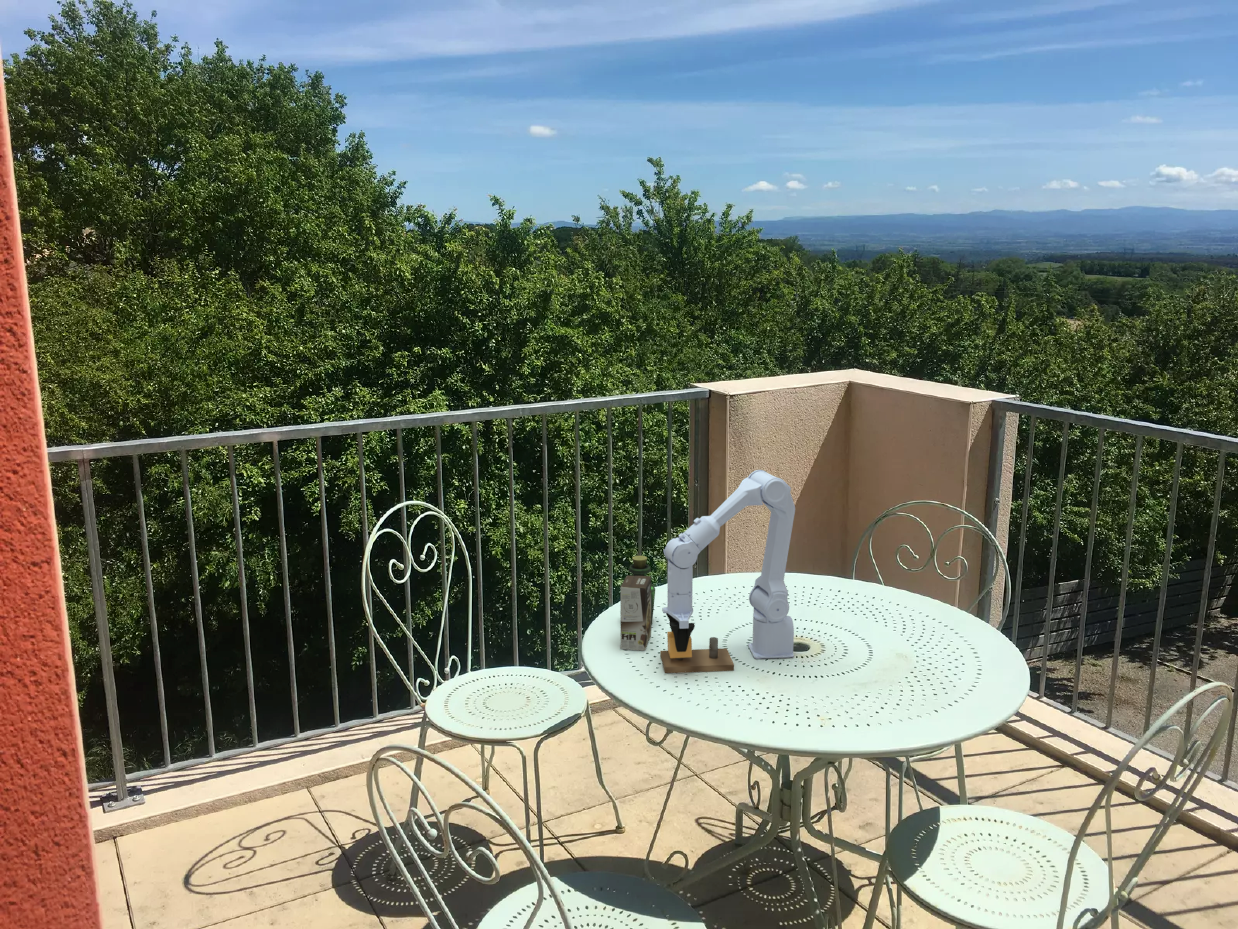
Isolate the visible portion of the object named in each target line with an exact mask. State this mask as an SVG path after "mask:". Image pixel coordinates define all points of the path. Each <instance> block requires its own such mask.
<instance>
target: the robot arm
mask: <svg viewBox="0 0 1238 929" xmlns="http://www.w3.org/2000/svg"><path fill="white" fill-rule="evenodd" d="M791 490H792V487H791V486H790V485H789V484H788V483H787V482H786V481H785V480H784V479H783V478H780V477H777V476H774V475H772V474H770V473H768V472H767V471H766V470H763V469H756V470H753V471H752V472H750V473H749V475H748V477H745V478H744V479H742V481H741V482H740V484H739V485H738V488H736V489H735V491H733V492H732V493H731V494H730V495H729V497H727V499H725V500H724V501H723V502H722V503H721V505H719V506H718V507H717V509H715V511H713V512H712V513H711V514H710V515H702V516H701V517H700V518H699V517H696V518H695V519H694V520H693V523H692V525H690V526H689V527H688V528H687V529H686V530H685V531H684V532H680V534H678V537H673V538H671V539H670V540H669V541H668V542H667V544H666V546H665V547H664V549H663V554H664V556H665V558H666V559H667V606H666V607H665V606H664V607H662V610H661V611H662V613H663V614H665V615H666V616H667V619H668V622H669V626H670V630H671V631H670V632H672V631H673V634H674V639H675V645H676V650H677V652H686V650H687V646H688V642H689V638H690V636H691V635H692V633H693V631H694V629H695V626H696V624H695V622H690V621H689V620H690V619H691V617H692V615H693V613H694V608H693V578H694V577H693V574H694V573H693V568H694V567H693V565H695V563H696V562H697V560H698V556H699V554H700V553H701V552H702V551H703V550H704V549H705V548H706V547H707V546H708V545H710V544H711V543H712V542H713V541H714V540H715V539H716V538H718V536H719V535H720V530H721V527H722V526H724V525H725V524H726V523H727V522H729V520H731V519H732V518H733V517H735V516H736V515H737V514H738V513H740V512H742V510H743V509H745V508H746V507H748V506H751V507H752V506H763V505H765V506H766V508H767V509H768V510H769V512H770V517H769V522H768V529H767V535H766V543H765V548H764V554H763V560H762V568H761V573H760V576H758V577H757V578H756V579H755V580H754V585H753V588H752V589H751V590H750V592H749V596H748V602H749V604H750V606H751V607H753V613H752V617H753V618H752V642H751V643H750V642H749V643H747V647H748V648H749V650H750V652H751V654H752V656H753V658H754V659H757V660H758V659H780V658H781V659H783V658H794V657H795V655H794V638H795V633H794V632H795V630H794V629H795V628H794V622H793V618H792V616H790V615H788V614H789V611H790V604H789V601H788V597H789V596H788V595H789V591H788V588H787V585H786V583H785V581H784V580H785V574H786V569H787V563H788V556H789V550H790V544H791V539H792V538H791V537H792V531H793V525H794V519H795V513H796V506H795V502H794V499H793V496H792V494H791Z"/></svg>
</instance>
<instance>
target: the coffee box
mask: <svg viewBox="0 0 1238 929" xmlns="http://www.w3.org/2000/svg"><path fill="white" fill-rule="evenodd" d="M651 583H652V576H649V575H646V576H633V575H629V574H628V575H626V576H625V578H624V580H623V581H622V584H620V599H619V600H620V601H619V602H620V605H619V606H620V611H619V612H620V649H621V650H629V651H630V650H631V651H641V652H645V651H646V649H647V647H648V645H649V642H650V641H651V637H652V625H651Z"/></svg>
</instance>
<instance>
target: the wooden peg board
mask: <svg viewBox="0 0 1238 929" xmlns="http://www.w3.org/2000/svg"><path fill="white" fill-rule="evenodd" d="M708 640H709V641H708V642H709V648H703V649H702V648H701V649H699V648H698V649H692V657H686V658H670V656H669V652H668V650H660V652H659V653H660V654H659V656H660V661H661V664H662V668H663V671H664V674H680V673H681V674H682V673H707V672H733V671H735V663H734V662H733V659H732V657H731V654H730V652H729V650H728V648H725V647H724V648H719V638H718V637H714V636H713V637H710V638H709V639H708Z"/></svg>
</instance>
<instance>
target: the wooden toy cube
mask: <svg viewBox="0 0 1238 929" xmlns="http://www.w3.org/2000/svg"><path fill="white" fill-rule="evenodd" d="M666 639H667V651H668V652H669V656H670V658H686V657H692V650H693V648H692V647H693V646H692V645H693V643H692V640H693V639H692V636H691V635H690V638H689V642H688V646H687V650H686V652H677V650H676V645H675V639H674V634H673V631H667V638H666Z"/></svg>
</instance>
